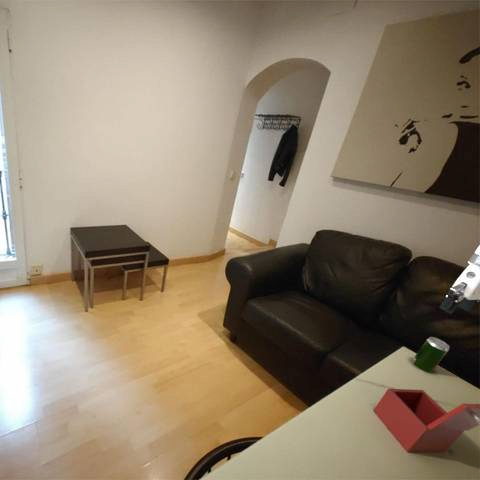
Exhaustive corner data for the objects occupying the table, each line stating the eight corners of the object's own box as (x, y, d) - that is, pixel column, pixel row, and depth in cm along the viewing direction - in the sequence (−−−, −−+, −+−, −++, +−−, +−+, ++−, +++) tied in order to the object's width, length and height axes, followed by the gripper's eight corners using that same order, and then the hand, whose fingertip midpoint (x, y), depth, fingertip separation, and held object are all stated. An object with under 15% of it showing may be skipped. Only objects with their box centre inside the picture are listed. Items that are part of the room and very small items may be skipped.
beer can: (412, 370, 89) (431, 343, 85) (407, 359, 94) (425, 333, 89) (432, 378, 87) (453, 351, 83) (426, 367, 92) (446, 341, 87)
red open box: (372, 410, 73) (388, 388, 69) (405, 411, 74) (422, 389, 70) (406, 452, 63) (426, 429, 60) (444, 452, 65) (465, 429, 61)
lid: (462, 403, 54) (489, 431, 50) (504, 404, 56) (533, 432, 52) (426, 426, 60) (447, 452, 56) (465, 426, 61) (488, 452, 57)
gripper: (488, 270, 72) (452, 319, 79) (522, 270, 78) (485, 316, 84) (454, 257, 79) (424, 303, 86) (488, 257, 84) (456, 301, 91)
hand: (454, 309), depth 85 cm, fingers open, 9 cm apart
